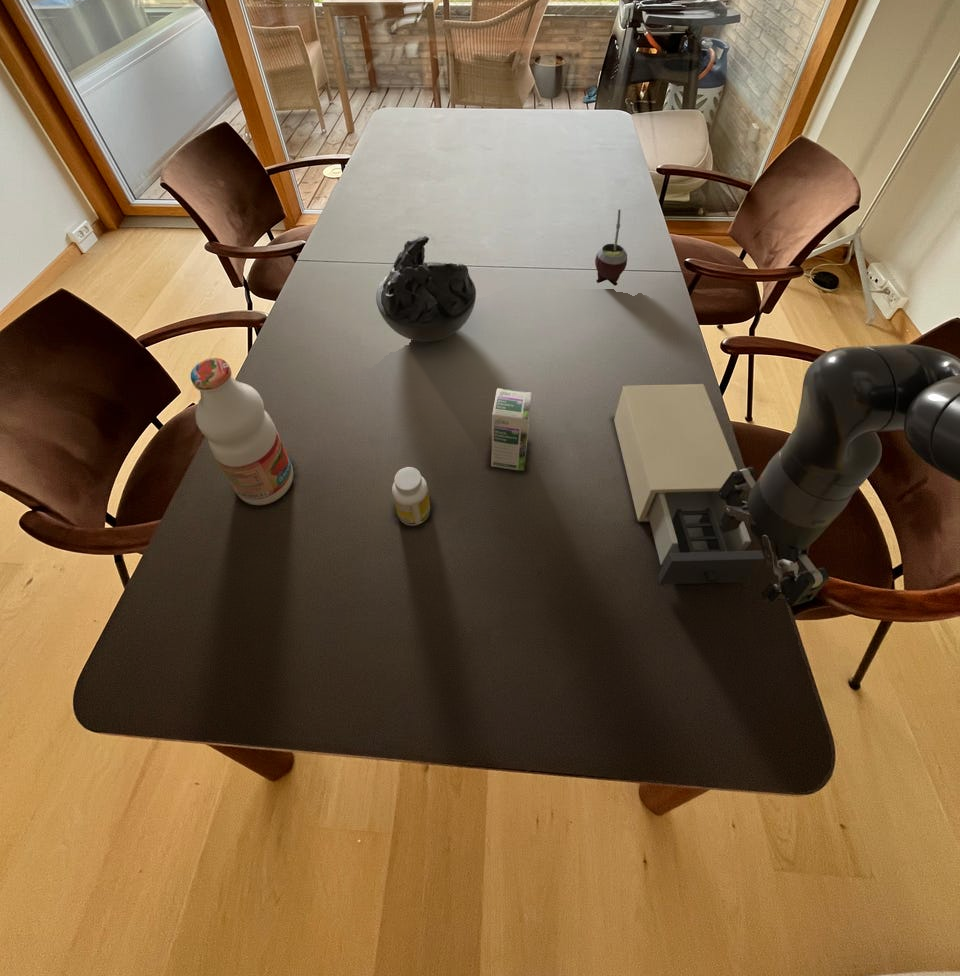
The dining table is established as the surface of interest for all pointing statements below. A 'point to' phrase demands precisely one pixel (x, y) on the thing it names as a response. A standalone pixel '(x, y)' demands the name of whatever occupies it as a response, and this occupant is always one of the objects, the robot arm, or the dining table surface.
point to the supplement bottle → (411, 496)
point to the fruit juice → (241, 434)
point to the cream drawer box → (670, 442)
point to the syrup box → (510, 428)
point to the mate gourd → (611, 260)
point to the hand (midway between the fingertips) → (747, 560)
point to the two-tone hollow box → (699, 542)
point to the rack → (705, 523)
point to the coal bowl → (425, 295)
